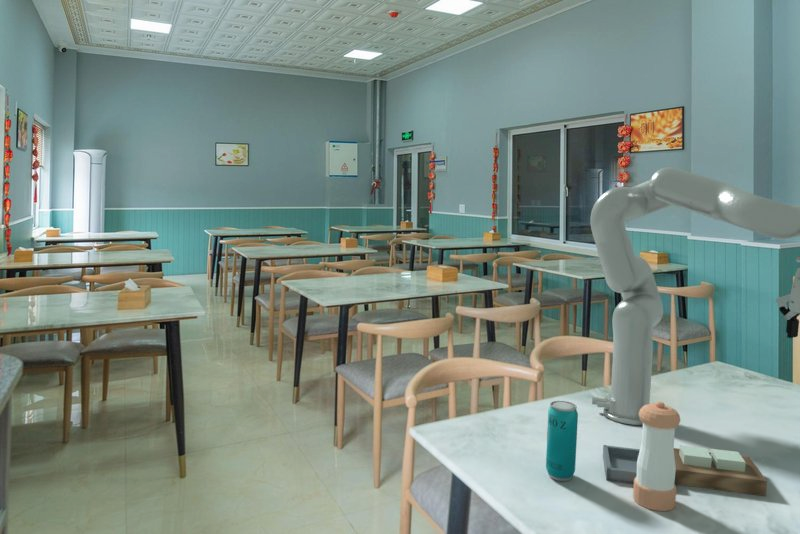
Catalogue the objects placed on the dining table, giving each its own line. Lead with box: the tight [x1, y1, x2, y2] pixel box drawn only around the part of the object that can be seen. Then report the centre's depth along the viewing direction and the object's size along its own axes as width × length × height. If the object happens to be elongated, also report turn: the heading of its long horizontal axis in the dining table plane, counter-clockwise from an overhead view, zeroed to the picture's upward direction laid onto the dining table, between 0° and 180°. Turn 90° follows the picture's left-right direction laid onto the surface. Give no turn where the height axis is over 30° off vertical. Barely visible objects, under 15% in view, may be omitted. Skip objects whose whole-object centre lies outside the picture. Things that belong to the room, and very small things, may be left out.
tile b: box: [678, 444, 712, 468], centre depth 118 cm, size 5×5×2 cm
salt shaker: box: [632, 401, 681, 512], centre depth 107 cm, size 7×7×19 cm
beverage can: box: [545, 400, 579, 482], centre depth 117 cm, size 6×6×15 cm
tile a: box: [710, 448, 746, 472], centre depth 117 cm, size 5×5×2 cm
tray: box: [602, 444, 676, 485], centre depth 120 cm, size 13×12×2 cm
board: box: [674, 447, 768, 497], centre depth 118 cm, size 16×11×3 cm
